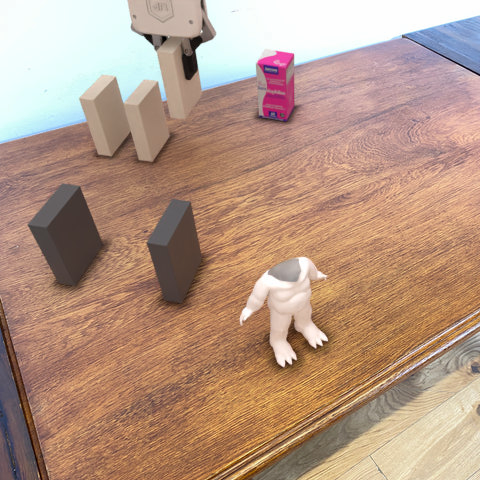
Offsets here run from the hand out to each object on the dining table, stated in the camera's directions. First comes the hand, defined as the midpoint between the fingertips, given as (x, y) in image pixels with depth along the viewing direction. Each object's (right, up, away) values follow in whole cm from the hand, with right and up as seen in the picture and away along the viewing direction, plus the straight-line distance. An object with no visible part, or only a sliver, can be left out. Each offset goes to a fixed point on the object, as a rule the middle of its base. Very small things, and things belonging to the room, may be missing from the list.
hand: (181, 73), depth 80 cm
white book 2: (-8, -9, +11) cm, 17 cm away
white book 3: (0, -4, +4) cm, 6 cm away
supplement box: (+13, -1, +21) cm, 25 cm away
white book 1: (-15, -8, +12) cm, 21 cm away
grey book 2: (+3, -31, -10) cm, 33 cm away
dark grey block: (-12, -29, -8) cm, 32 cm away
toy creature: (+18, -38, -16) cm, 45 cm away
